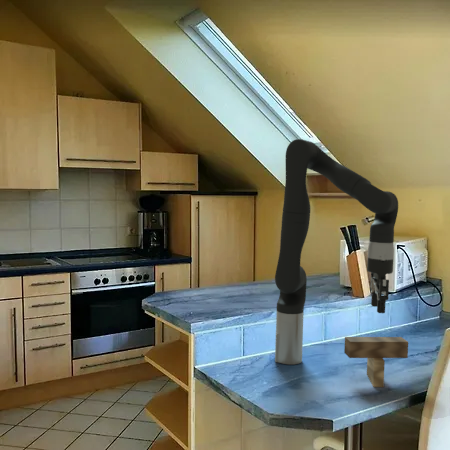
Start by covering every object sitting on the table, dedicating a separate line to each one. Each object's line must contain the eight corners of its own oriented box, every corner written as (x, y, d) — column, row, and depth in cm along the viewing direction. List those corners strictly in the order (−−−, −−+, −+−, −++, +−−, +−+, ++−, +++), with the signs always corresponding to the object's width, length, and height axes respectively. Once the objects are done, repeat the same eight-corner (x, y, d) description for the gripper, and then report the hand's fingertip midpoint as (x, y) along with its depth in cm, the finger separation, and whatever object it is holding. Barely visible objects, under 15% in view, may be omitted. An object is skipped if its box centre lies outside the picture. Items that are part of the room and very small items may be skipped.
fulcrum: (373, 386, 144) (374, 360, 143) (366, 374, 154) (367, 349, 153) (383, 387, 143) (384, 361, 143) (376, 375, 153) (377, 350, 153)
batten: (349, 358, 145) (350, 341, 145) (344, 352, 150) (344, 336, 150) (407, 358, 146) (408, 341, 146) (400, 352, 151) (401, 337, 151)
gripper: (363, 253, 154) (361, 303, 155) (372, 259, 139) (369, 314, 141) (387, 254, 153) (385, 305, 154) (399, 260, 139) (396, 316, 140)
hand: (377, 309), depth 147 cm, fingers open, 8 cm apart
